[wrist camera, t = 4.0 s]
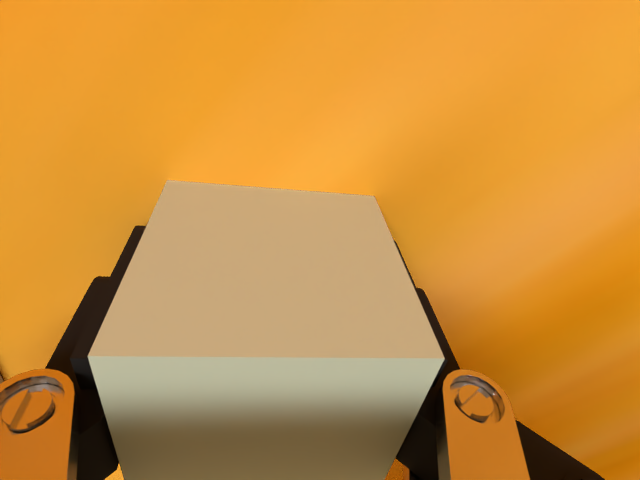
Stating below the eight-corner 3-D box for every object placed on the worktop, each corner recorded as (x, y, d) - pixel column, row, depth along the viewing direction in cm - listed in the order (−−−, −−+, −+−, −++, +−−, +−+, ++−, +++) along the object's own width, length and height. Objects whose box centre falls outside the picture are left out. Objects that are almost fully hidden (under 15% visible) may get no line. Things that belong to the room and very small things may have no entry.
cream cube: (374, 195, 10) (444, 358, 6) (340, 330, 13) (372, 502, 9) (167, 180, 9) (87, 356, 5) (179, 327, 12) (135, 515, 8)
